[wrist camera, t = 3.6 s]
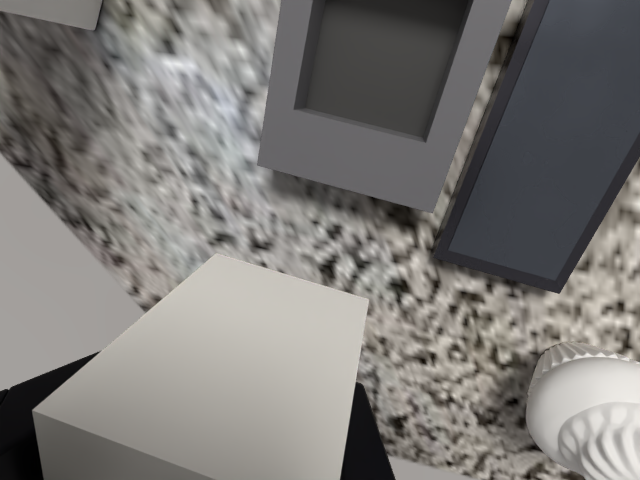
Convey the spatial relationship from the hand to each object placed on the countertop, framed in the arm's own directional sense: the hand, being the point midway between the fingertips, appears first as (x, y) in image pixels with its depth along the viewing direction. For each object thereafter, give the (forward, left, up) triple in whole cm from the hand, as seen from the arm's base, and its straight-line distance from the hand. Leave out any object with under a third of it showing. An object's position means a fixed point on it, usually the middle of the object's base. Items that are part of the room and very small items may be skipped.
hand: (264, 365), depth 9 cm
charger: (0, 0, -1) cm, 1 cm away
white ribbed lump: (-4, -14, -11) cm, 19 cm away
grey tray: (+8, 0, -11) cm, 14 cm away
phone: (+6, -8, -11) cm, 15 cm away
